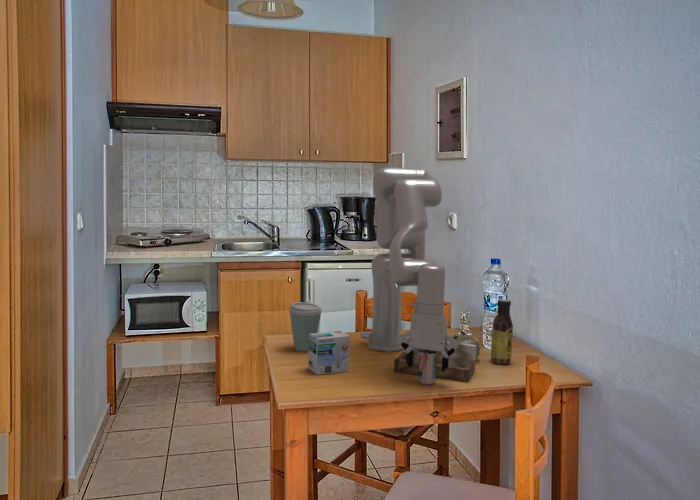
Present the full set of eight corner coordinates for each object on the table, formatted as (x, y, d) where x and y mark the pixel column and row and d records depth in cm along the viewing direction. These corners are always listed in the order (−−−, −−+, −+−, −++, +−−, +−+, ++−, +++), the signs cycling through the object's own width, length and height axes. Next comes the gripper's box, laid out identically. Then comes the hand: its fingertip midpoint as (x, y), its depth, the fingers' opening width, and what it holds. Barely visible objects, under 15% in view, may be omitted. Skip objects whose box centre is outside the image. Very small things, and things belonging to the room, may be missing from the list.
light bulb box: (316, 375, 182) (317, 339, 180) (307, 368, 188) (308, 333, 186) (349, 371, 187) (350, 335, 185) (339, 364, 193) (340, 330, 191)
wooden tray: (393, 371, 188) (395, 345, 187) (404, 361, 198) (405, 336, 197) (468, 382, 180) (469, 354, 179) (474, 371, 190) (476, 345, 189)
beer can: (416, 379, 181) (418, 338, 179) (433, 379, 181) (435, 338, 180) (419, 385, 176) (421, 343, 175) (436, 385, 177) (438, 343, 175)
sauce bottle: (511, 366, 196) (515, 303, 194) (490, 364, 198) (494, 301, 195) (510, 360, 203) (514, 299, 200) (490, 358, 204) (494, 297, 201)
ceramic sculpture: (464, 337, 195) (433, 329, 207) (463, 365, 195) (433, 355, 208) (490, 334, 200) (458, 326, 213) (489, 361, 201) (458, 351, 213)
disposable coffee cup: (321, 345, 213) (322, 301, 211) (320, 354, 202) (321, 308, 200) (289, 344, 212) (290, 300, 210) (287, 353, 202) (288, 307, 200)
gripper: (396, 307, 176) (393, 367, 178) (458, 314, 170) (455, 376, 172) (403, 303, 183) (401, 360, 185) (463, 309, 177) (460, 368, 179)
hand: (427, 368), depth 178 cm, fingers open, 9 cm apart
